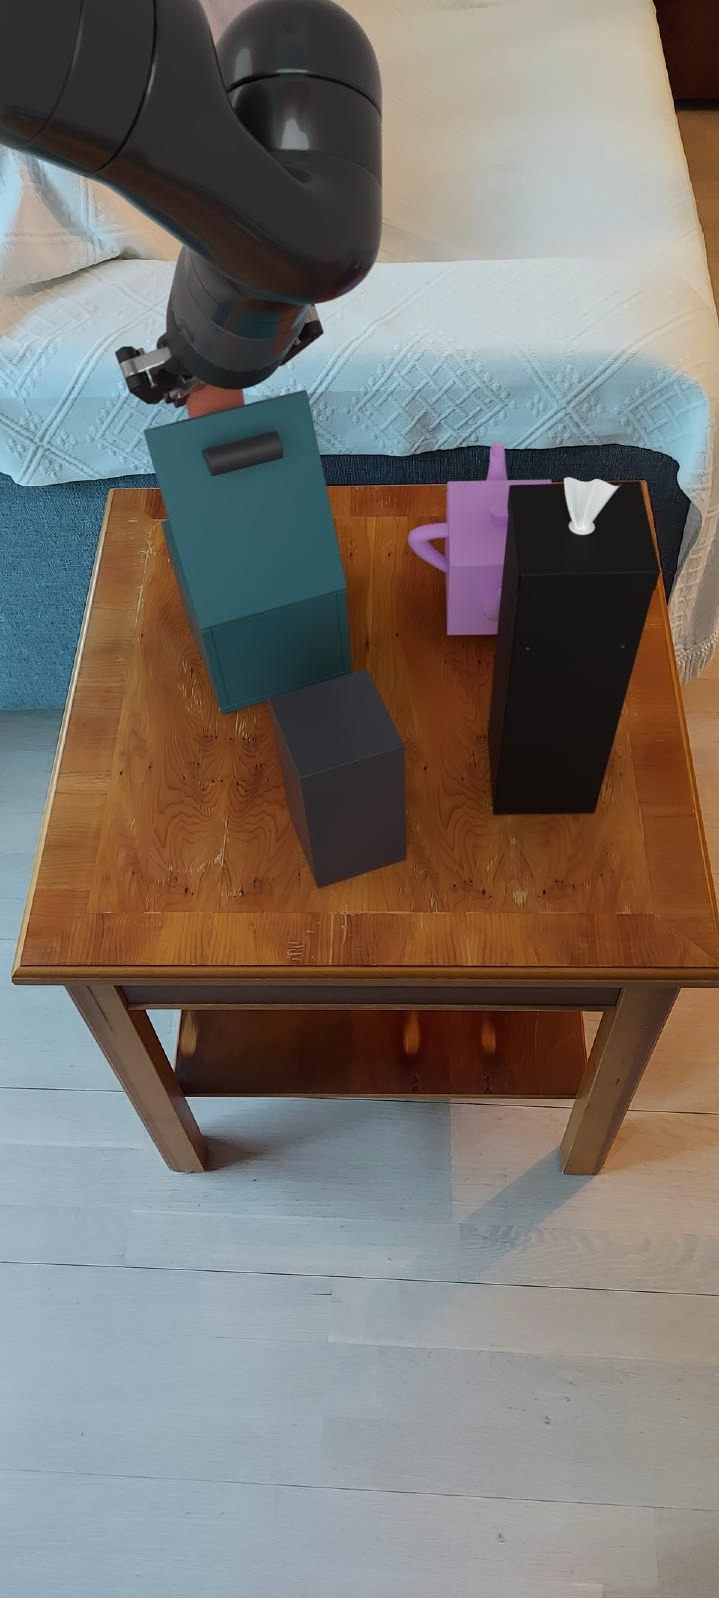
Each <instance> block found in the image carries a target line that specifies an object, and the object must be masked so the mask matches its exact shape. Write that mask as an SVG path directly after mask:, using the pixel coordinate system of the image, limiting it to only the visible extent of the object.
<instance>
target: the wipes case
mask: <svg viewBox="0 0 719 1598" xmlns="http://www.w3.org/2000/svg"><path fill="white" fill-rule="evenodd" d="M160 524H161V529H162V532H163V535H164V540H165V544H166V547H167V551H168V556H169V559H170V562H171V566H172V570H173V574H174V578H175V581H176V586H177V589H178V592H179V597H180V600H181V605H182V608H183V610H184V613H185V616H186V618H187V621H188V624H189V627H190V630H191V633H192V635H193V638H194V641H195V644H196V646H197V649H198V650H197V651H198V653H199V655H200V658H201V660H202V663H203V666H204V668H205V672H206V675H207V677H208V680H209V684H210V685H211V688H212V691H213V694H214V697H215V700H216V702H217V705H218V708H219V711H220V714H221V715H225V714H228V713H231V712H236V711H237V710H241V709H245V708H249V707H251V706H255V705H259V704H261V703H265V702H268V698H271V697H274V696H278V695H281V694H284V693H288V692H291V691H295V690H298V689H301V688H305V687H308V686H311V685H315V684H318V683H321V682H325V681H328V680H331V679H335V678H338V677H342V676H345V675H348V674H352V673H353V665H352V664H353V663H352V653H351V651H352V650H351V641H350V640H351V637H350V626H349V612H348V603H347V602H348V601H347V591H346V588H345V589H341V590H338V591H334V592H331V593H327V594H324V595H320V596H317V597H313V598H310V599H306V600H303V601H299V602H296V603H292V604H289V605H285V606H281V607H278V608H274V609H271V610H267V611H264V612H260V613H257V614H253V615H250V616H246V617H243V618H239V619H236V620H232V621H229V622H225V623H222V624H218V625H215V626H211V627H207V628H204V629H201V628H200V626H199V623H198V620H197V616H196V613H195V609H194V606H193V602H192V599H191V596H190V592H189V589H188V585H187V582H186V578H185V575H184V571H183V568H182V564H181V561H180V557H179V554H178V550H177V547H176V543H175V540H174V536H173V533H172V529H171V526H170V522H169V519H166V520H162V521H161V522H160Z"/></svg>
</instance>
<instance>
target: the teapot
mask: <svg viewBox="0 0 719 1598" xmlns="http://www.w3.org/2000/svg"><path fill="white" fill-rule="evenodd" d="M487 472H488V473H487V476H486V480H461V481H459V480H458V481H457V480H456V481H454V480H453V481H452V480H449V481H447V482H446V483H447V484H446V488H447V489H446V509H445V510H446V513H445V514H446V515H445V522H437V523H429V524H424V525H421V526H418V527H415V528H413V529H412V530H411V531H410V532H409V534H408V537H407V541H408V542H407V543H408V545H409V547H410V548H411V550H412V551H413V552H414V553H415V554H416V555H417V556H418V557H419V558H421V560H423V561H425V562H426V563H428V564H429V565H431V566H433V567H435V568H436V569H438V570H439V571H442V572H443V573H444V574H445V604H446V636H461V635H462V636H468V635H469V636H471V635H475V636H476V635H477V636H478V635H479V636H480V635H497V629H498V619H499V608H500V598H501V587H502V576H503V566H504V555H505V545H506V534H507V523H508V509H507V504H508V493H509V486H510V485H528V484H553V482H552V479H510V480H509V479H508V475H507V467H506V451H505V448H504V445H503V443H502V442H500V441H494V442H493V443H491V446H490V450H489V465H488V471H487ZM442 538H443V539H445V544H444V548H445V549H444V550H445V551H444V555H443V554H442V553H440V551H438V550H436V548H434V546H433V545H432V544H431V543H430V541H431V540H435V539H442Z"/></svg>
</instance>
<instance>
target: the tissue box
mask: <svg viewBox="0 0 719 1598" xmlns="http://www.w3.org/2000/svg"><path fill="white" fill-rule="evenodd" d="M645 501H646V500H645V497H644V492H643V488H642V483H641V481H640V480H639V481H638V480H633V481H631V480H630V481H605V480H602V479H599V478H595V479H593V480H590V481H582V480H578V479H576V478H574V477H568V476H567V477H564V478H563V483H552V484H528V485H510V486H509V493H508V504H507V509H508V523H507V534H506V545H505V555H504V566H503V576H502V587H501V598H500V608H499V619H498V629H497V634H496V642H495V653H494V661H493V662H494V663H493V672H492V675H493V676H492V684H491V695H490V705H489V713H488V714H489V716H488V726H487V735H486V736H487V749H488V750H487V751H488V760H489V761H488V765H489V776H490V777H489V779H490V791H491V801H492V802H491V803H492V814H493V815H494V816H503V815H504V816H507V815H511V816H512V815H514V816H515V815H516V816H517V815H570V814H571V815H575V814H578V815H581V814H595V813H596V810H597V806H598V803H599V800H600V799H599V798H600V795H601V791H602V789H603V784H604V780H605V776H606V773H607V768H608V765H609V761H610V758H611V753H612V750H613V746H614V742H615V740H616V739H615V738H616V736H617V731H618V728H619V727H618V726H619V723H620V719H621V716H622V712H623V709H624V704H625V701H626V696H627V694H628V689H629V685H630V682H631V678H632V674H633V670H634V666H635V662H636V658H637V655H638V651H639V648H640V644H641V640H642V636H643V632H644V628H645V624H646V622H647V617H648V613H649V610H650V606H651V602H652V598H653V594H654V591H656V589H657V585H658V581H659V577H660V574H661V568H660V564H659V563H660V562H659V559H658V554H657V551H656V550H657V549H656V546H655V542H654V537H653V533H652V528H651V524H650V520H649V513H648V511H647V507H646V502H645Z"/></svg>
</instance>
